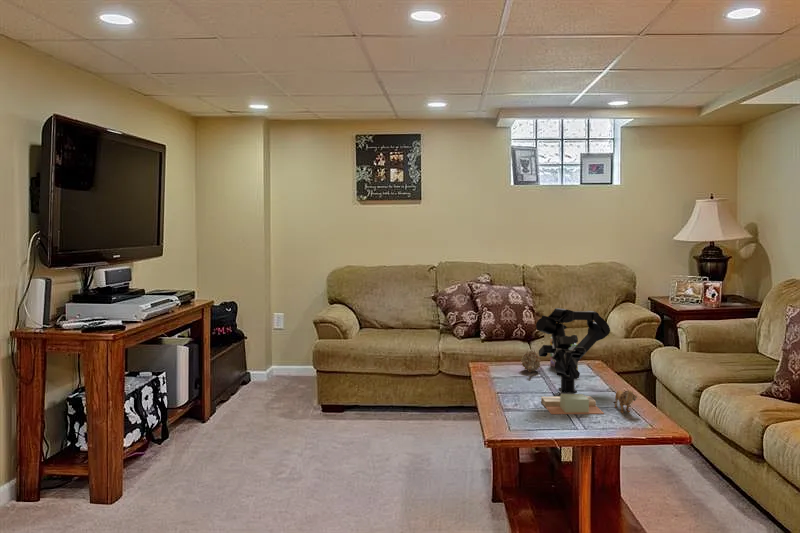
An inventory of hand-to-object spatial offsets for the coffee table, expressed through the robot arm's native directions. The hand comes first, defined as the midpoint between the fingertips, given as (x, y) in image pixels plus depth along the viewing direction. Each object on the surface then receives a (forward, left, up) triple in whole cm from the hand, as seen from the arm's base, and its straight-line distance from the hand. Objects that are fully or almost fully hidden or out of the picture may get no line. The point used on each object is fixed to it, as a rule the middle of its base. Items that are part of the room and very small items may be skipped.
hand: (566, 370), depth 248 cm
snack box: (-54, +13, -13) cm, 57 cm away
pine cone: (-48, -4, -13) cm, 50 cm away
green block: (+10, 0, -10) cm, 14 cm away
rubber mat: (+13, 0, -13) cm, 18 cm away
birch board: (+5, 0, -13) cm, 13 cm away
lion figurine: (+13, +19, -13) cm, 26 cm away
